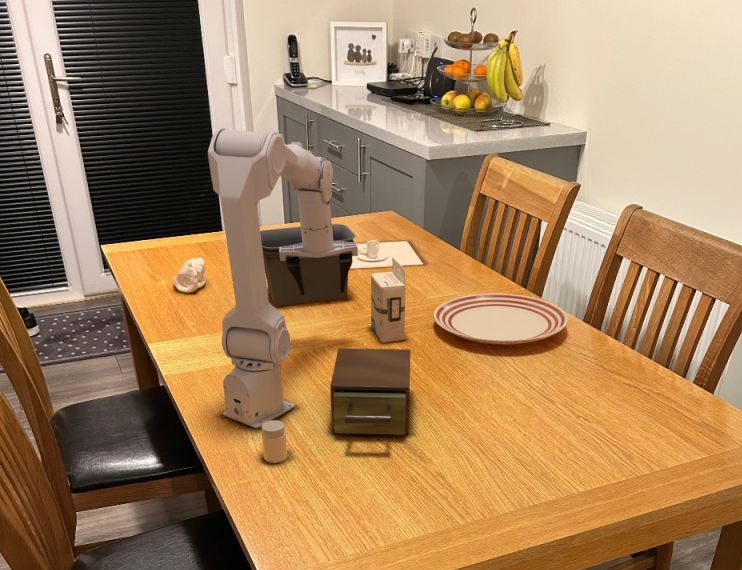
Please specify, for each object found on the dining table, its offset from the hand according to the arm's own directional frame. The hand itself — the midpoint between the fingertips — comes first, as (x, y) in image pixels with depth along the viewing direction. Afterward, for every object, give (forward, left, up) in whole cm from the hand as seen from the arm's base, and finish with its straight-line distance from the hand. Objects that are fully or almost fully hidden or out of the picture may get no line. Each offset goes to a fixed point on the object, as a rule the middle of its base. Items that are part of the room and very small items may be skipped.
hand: (322, 291), depth 154 cm
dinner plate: (+27, -25, -11) cm, 38 cm away
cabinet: (-18, -25, -11) cm, 33 cm away
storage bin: (+18, +20, -11) cm, 29 cm away
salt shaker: (-38, -22, -11) cm, 45 cm away
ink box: (+11, -8, -11) cm, 17 cm away
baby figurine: (+7, +46, -11) cm, 48 cm away
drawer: (-22, -28, -10) cm, 36 cm away
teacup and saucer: (+52, +25, -11) cm, 59 cm away
